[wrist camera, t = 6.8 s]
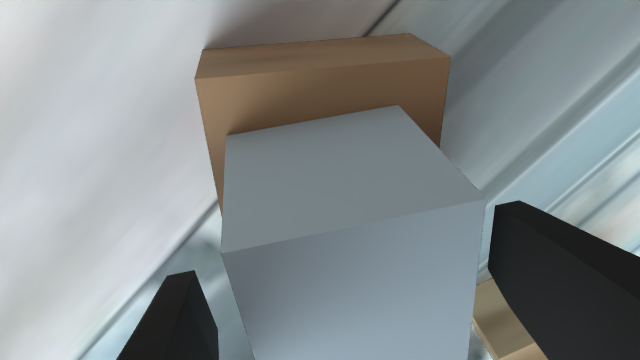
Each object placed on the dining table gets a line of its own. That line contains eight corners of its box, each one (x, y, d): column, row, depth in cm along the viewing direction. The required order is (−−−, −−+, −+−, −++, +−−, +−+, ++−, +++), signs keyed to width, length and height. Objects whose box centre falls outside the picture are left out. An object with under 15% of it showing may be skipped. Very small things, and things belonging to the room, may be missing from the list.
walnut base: (395, 197, 18) (426, 248, 15) (233, 218, 17) (234, 277, 14) (406, 31, 15) (450, 56, 12) (203, 47, 14) (194, 79, 11)
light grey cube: (400, 237, 15) (467, 360, 10) (260, 266, 14) (270, 408, 10) (397, 104, 12) (486, 198, 8) (225, 135, 12) (220, 253, 7)
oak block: (541, 302, 24) (592, 364, 20) (476, 332, 24) (516, 399, 21) (528, 258, 21) (583, 320, 18) (458, 292, 22) (498, 359, 18)
